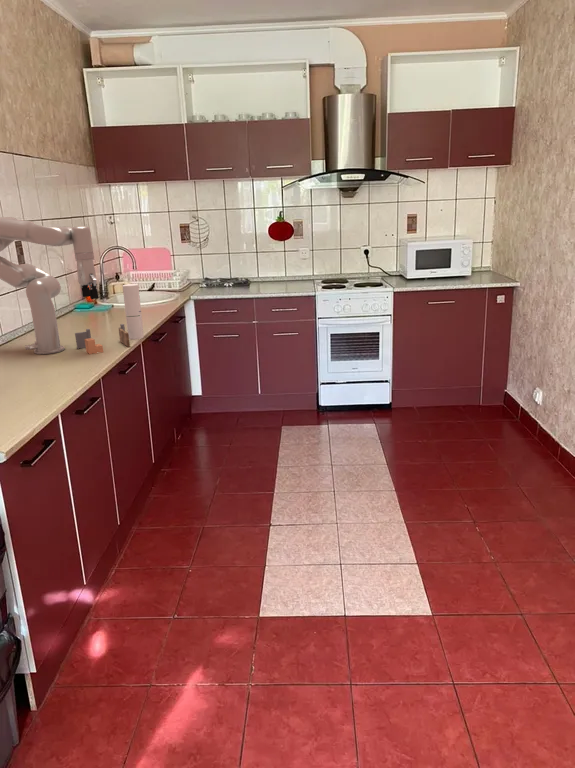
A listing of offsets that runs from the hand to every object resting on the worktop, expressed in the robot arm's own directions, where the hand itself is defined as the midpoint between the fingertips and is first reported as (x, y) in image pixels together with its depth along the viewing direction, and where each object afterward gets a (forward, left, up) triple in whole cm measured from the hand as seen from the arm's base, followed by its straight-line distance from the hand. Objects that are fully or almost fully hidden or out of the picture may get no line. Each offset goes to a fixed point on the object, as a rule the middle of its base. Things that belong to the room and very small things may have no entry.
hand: (90, 297), depth 251 cm
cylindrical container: (+23, +14, -23) cm, 35 cm away
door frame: (+5, +10, -23) cm, 25 cm away
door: (+13, +3, -23) cm, 27 cm away
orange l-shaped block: (-2, -2, -23) cm, 23 cm away
